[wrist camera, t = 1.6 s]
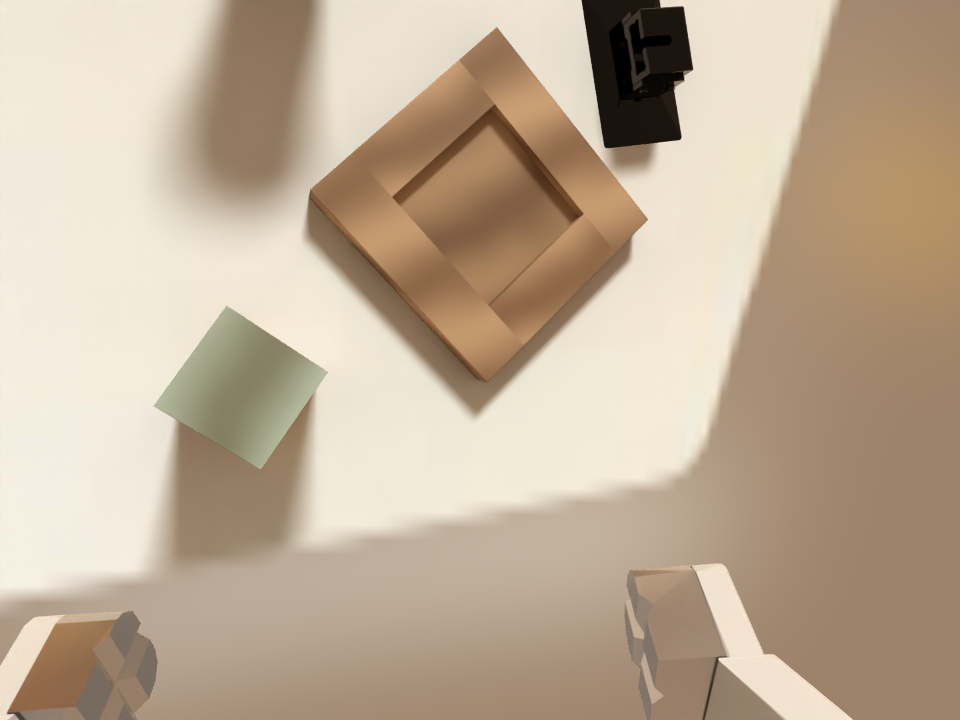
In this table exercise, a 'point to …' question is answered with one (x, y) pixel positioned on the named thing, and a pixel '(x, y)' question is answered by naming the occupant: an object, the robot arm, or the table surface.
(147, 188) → the table surface
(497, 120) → the walnut plate
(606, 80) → the black stand
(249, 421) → the block stack
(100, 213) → the table surface
